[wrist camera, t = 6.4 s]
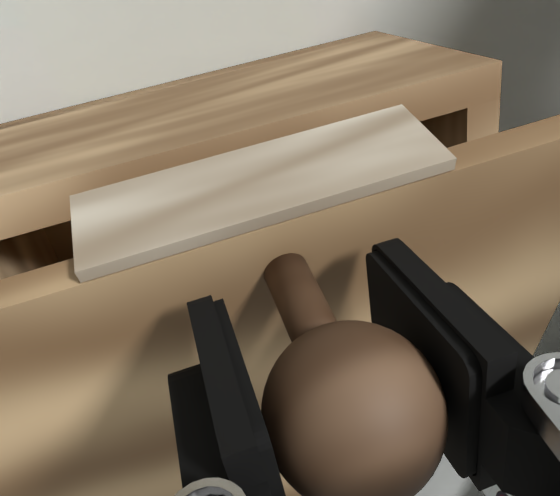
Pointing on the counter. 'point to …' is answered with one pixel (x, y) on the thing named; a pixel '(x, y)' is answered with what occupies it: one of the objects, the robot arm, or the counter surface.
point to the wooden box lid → (273, 304)
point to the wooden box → (225, 125)
